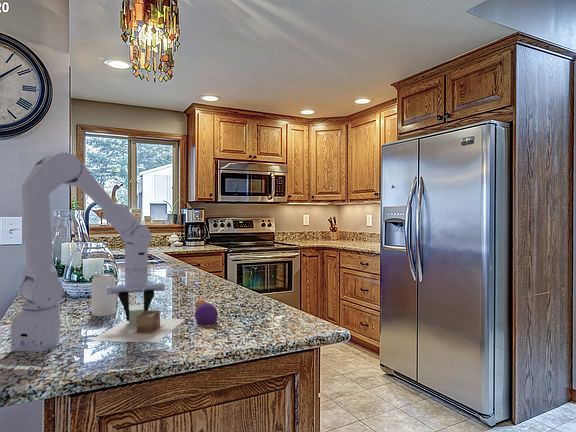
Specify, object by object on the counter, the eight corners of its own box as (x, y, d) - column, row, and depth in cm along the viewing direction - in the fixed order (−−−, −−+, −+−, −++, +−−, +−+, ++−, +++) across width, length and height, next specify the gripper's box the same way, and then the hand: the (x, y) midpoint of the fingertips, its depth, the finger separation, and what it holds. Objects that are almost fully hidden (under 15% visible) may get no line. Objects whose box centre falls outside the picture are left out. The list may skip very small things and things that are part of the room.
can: (106, 318, 115) (106, 276, 115) (86, 317, 117) (86, 275, 117) (120, 313, 122) (120, 273, 122) (101, 312, 123) (101, 272, 123)
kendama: (212, 297, 127) (220, 306, 108) (209, 316, 126) (216, 329, 107) (193, 294, 126) (198, 303, 106) (189, 314, 125) (193, 326, 106)
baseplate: (157, 344, 93) (157, 341, 93) (89, 343, 94) (89, 340, 94) (185, 321, 113) (185, 318, 113) (129, 320, 114) (129, 317, 114)
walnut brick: (151, 332, 100) (151, 316, 100) (136, 332, 100) (136, 316, 100) (160, 326, 106) (160, 310, 106) (146, 325, 106) (146, 310, 106)
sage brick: (144, 324, 107) (144, 309, 107) (129, 326, 106) (129, 310, 106) (142, 319, 113) (142, 304, 113) (128, 320, 111) (128, 306, 111)
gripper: (106, 272, 103) (106, 325, 103) (166, 269, 108) (166, 320, 108) (107, 268, 109) (107, 319, 109) (163, 266, 115) (163, 314, 115)
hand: (136, 319), depth 109 cm, fingers closed on sage brick, 4 cm apart
